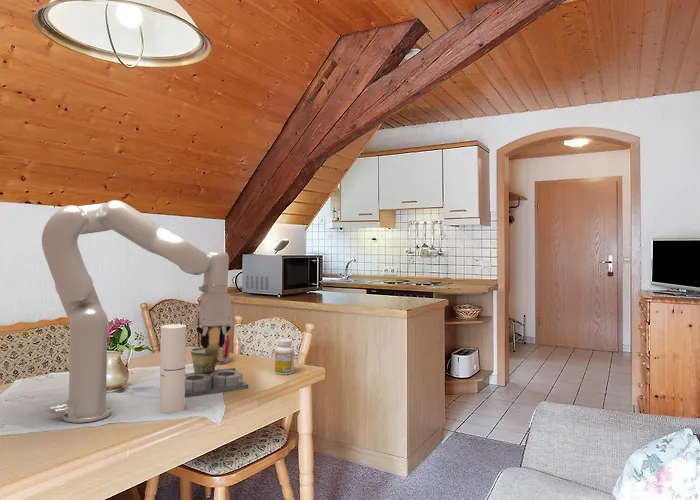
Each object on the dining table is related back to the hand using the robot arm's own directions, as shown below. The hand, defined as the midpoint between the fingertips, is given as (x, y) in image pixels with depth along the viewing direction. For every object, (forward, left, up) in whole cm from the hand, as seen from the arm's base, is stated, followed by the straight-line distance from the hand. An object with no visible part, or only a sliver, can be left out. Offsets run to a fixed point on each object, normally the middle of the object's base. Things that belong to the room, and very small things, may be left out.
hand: (212, 346), depth 163 cm
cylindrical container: (-13, -4, -17) cm, 22 cm away
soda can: (+19, +45, -17) cm, 52 cm away
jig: (+4, +12, -17) cm, 21 cm away
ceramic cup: (+8, +27, -17) cm, 33 cm away
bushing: (0, 0, -2) cm, 2 cm away
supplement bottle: (+35, +18, -17) cm, 43 cm away
